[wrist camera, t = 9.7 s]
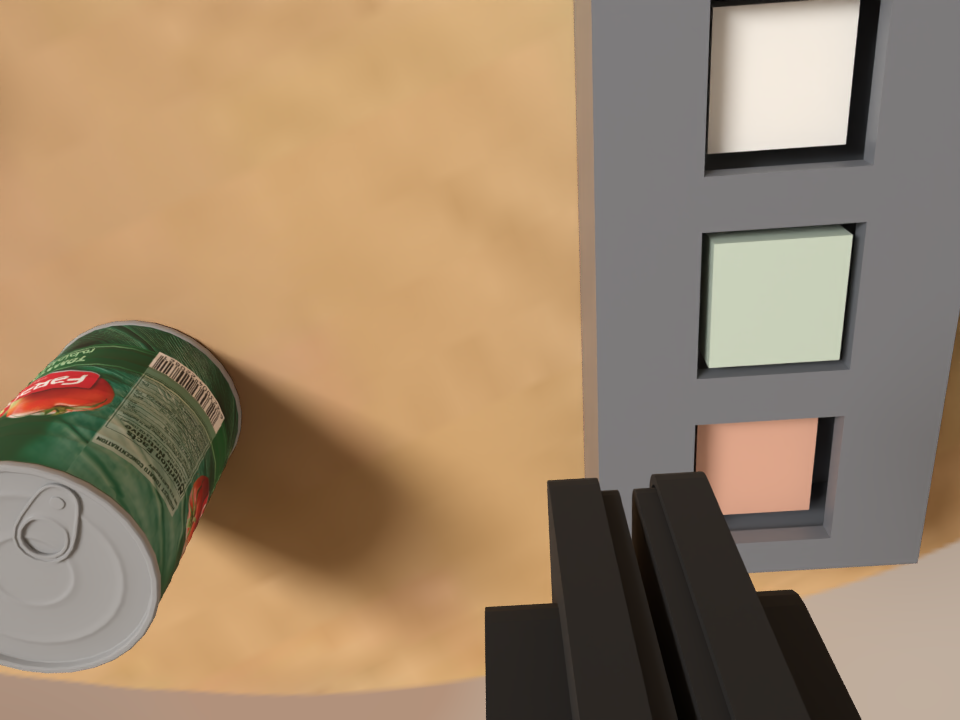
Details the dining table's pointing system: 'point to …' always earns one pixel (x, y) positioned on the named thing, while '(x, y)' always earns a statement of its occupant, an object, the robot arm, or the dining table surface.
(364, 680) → the dining table surface
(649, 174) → the keypad housing
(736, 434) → the terracotta key
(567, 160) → the dining table surface
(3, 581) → the canned tomato
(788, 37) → the off-white key
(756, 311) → the sage key
